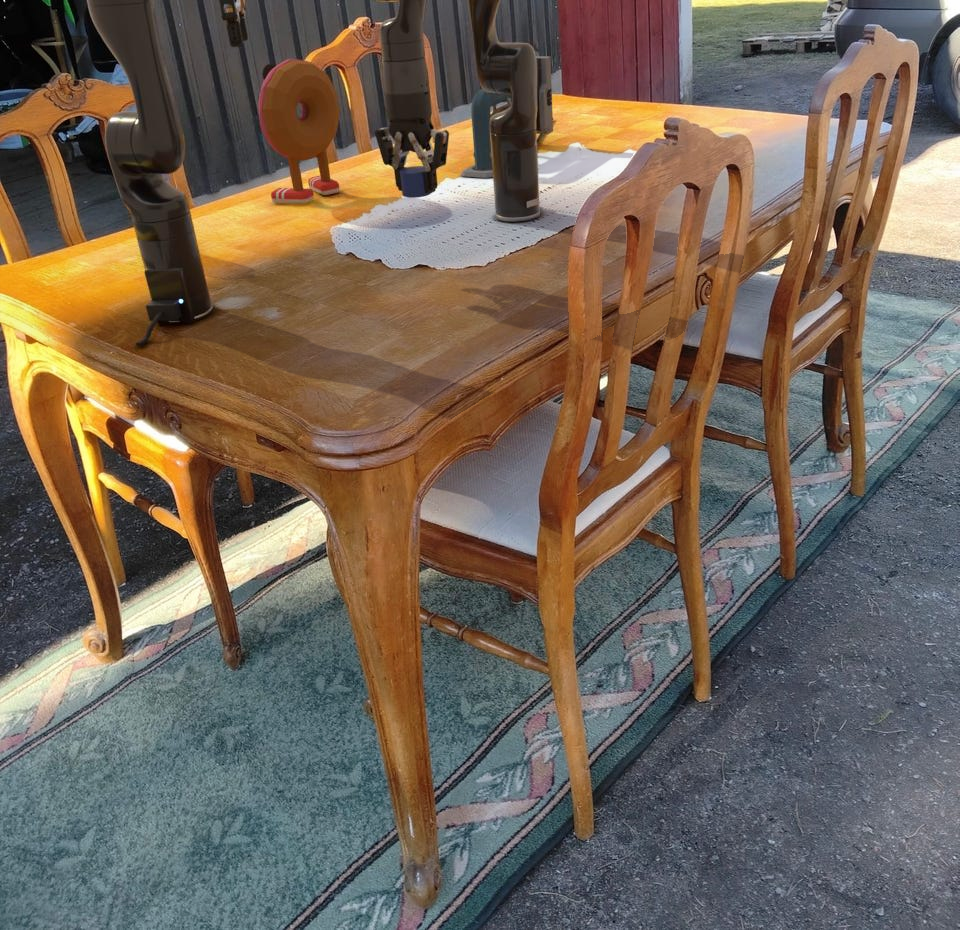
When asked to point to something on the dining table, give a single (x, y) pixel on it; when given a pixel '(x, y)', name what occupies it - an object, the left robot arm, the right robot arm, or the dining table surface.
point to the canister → (413, 182)
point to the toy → (299, 124)
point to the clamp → (487, 100)
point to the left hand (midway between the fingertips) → (239, 43)
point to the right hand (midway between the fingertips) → (417, 190)
